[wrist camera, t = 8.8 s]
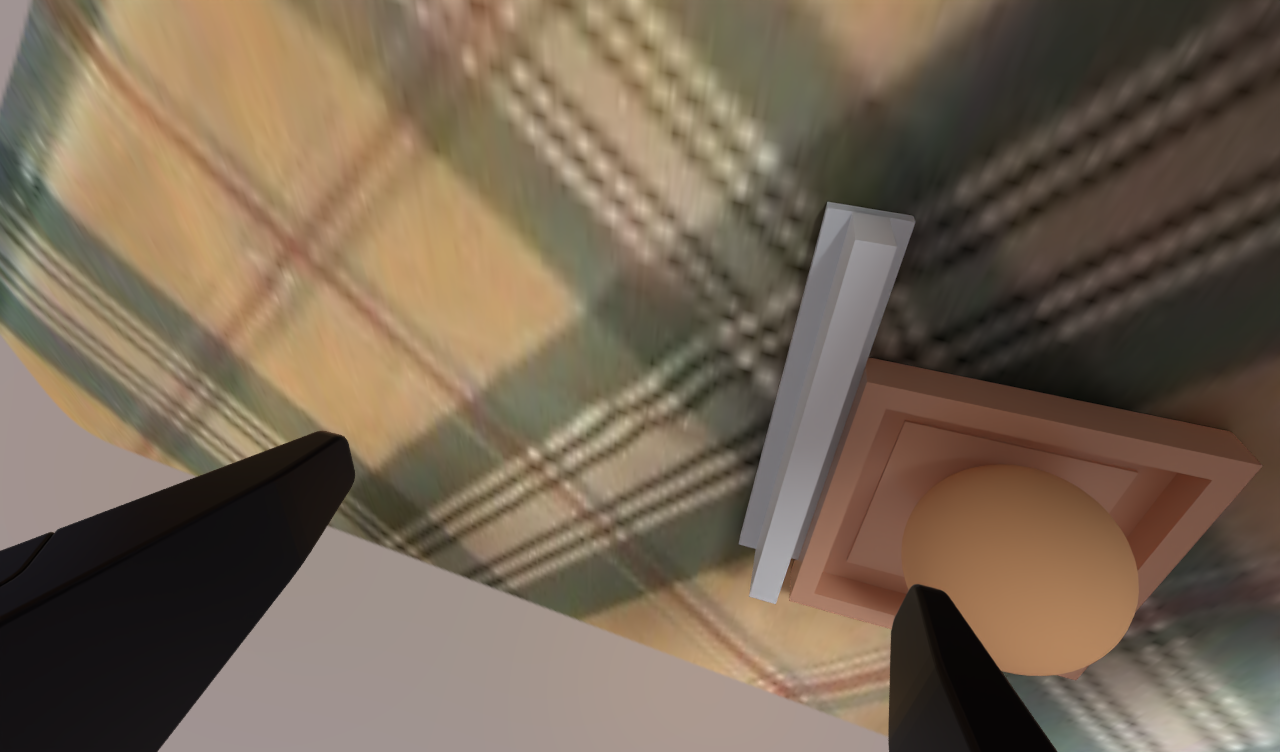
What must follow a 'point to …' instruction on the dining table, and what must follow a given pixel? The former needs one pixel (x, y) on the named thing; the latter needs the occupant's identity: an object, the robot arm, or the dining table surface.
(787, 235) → the dining table surface
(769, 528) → the wall
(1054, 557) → the ball
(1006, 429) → the dish
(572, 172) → the dining table surface
